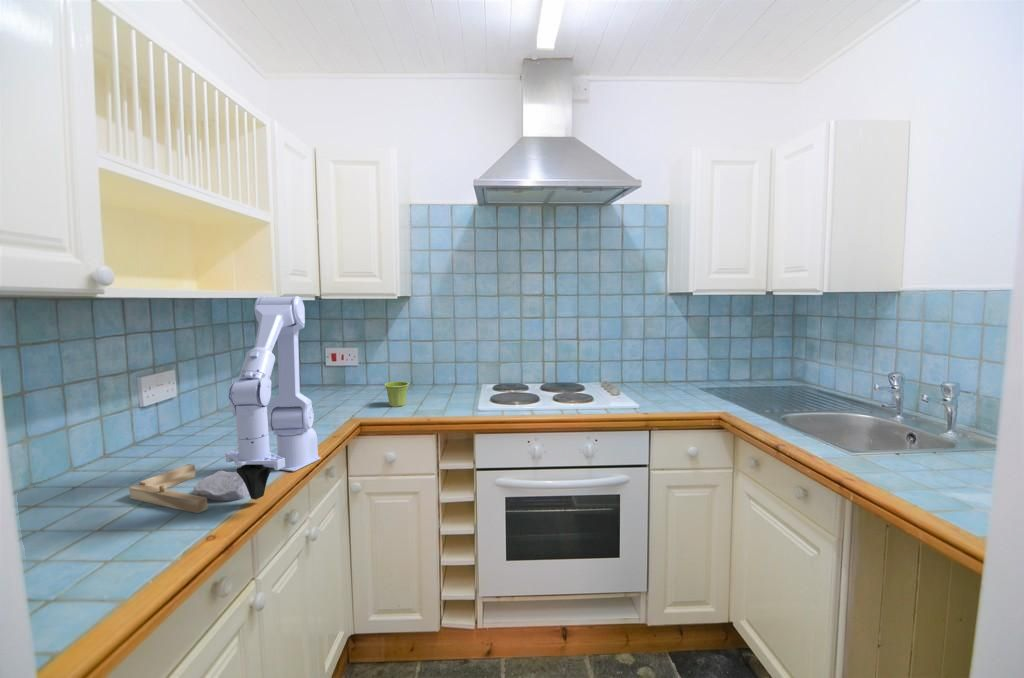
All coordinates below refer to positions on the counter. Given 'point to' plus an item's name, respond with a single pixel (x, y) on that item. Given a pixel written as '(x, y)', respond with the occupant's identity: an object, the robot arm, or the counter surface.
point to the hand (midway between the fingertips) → (257, 497)
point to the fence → (169, 491)
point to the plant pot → (397, 393)
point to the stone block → (222, 487)
